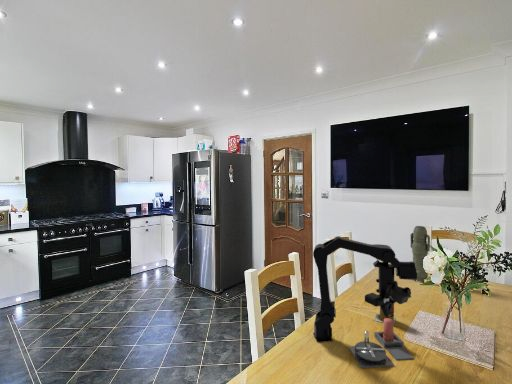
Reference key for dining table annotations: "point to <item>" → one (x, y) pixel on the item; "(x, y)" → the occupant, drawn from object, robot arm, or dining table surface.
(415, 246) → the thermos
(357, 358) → the wheel base
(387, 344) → the collar
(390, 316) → the condiment
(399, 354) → the mat
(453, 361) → the dining table surface
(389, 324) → the pink rounded cylinder
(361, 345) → the handwheel
